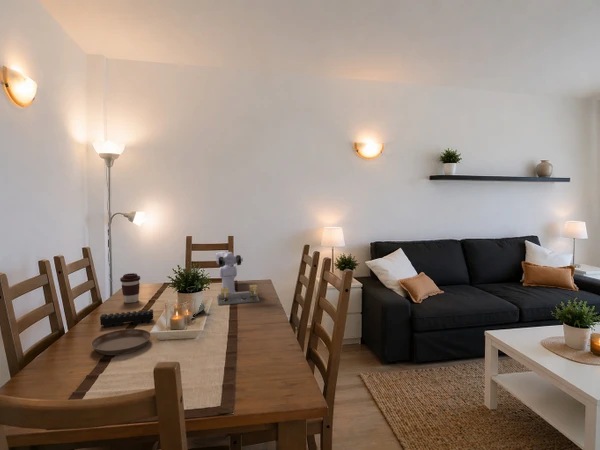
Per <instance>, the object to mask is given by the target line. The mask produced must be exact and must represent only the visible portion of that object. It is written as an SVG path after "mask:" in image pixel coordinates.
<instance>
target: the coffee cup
mask: <svg viewBox="0 0 600 450" xmlns="http://www.w3.org/2000/svg"><path fill="white" fill-rule="evenodd" d="M119 280H120V282H121V291H122V296H123V302H124V303H126V304H131V303H136V302H139V296H140V285H141V284H140V280H141V276H140V275H138V273H134V272H133V273H131V272H130V273H125V274H123V275H122V277H120V279H119Z"/></svg>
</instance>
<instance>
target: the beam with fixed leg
mask: <svg viewBox="0 0 600 450" xmlns="http://www.w3.org/2000/svg"><path fill="white" fill-rule="evenodd" d="M217 296H218V299H224V300H225V301H226V298H236V297H249V296H250V291H249V290H247V291H235V292H232V293H229V289H228V287H224V288H222V287H220V293H219V292H218V294H217Z"/></svg>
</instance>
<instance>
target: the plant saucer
mask: <svg viewBox="0 0 600 450" xmlns="http://www.w3.org/2000/svg"><path fill="white" fill-rule="evenodd" d="M151 337H152V334H151V332H149V330H145V329H141V328H126V329H119V330H114V331H110V332H106V333H104V334H101V335H99V336H97V337H95V338H94V339H93V340H92V341H91V342H90V343H91V344H90V345H91V347H92V349H93V350H95V351H96V352H97V353H99V354H102V355H105V356H119V354H120V355H124V354H125V353H126V354H129V352H130V353H132V352H133V353H134V352H136V351H137V350H140V349H141V348H143V347H144V346H145V345H146V344H147V343H148V342H149V341H150V339H151Z"/></svg>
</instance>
